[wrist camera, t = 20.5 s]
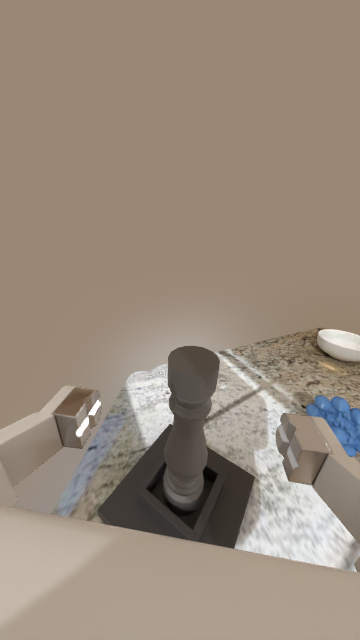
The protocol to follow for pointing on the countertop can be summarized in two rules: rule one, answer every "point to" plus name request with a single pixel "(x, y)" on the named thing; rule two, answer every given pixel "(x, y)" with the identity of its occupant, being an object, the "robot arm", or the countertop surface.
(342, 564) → the countertop surface
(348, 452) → the grapes
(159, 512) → the display stand
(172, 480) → the candle holder
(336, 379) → the countertop surface
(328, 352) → the cereal bowl
